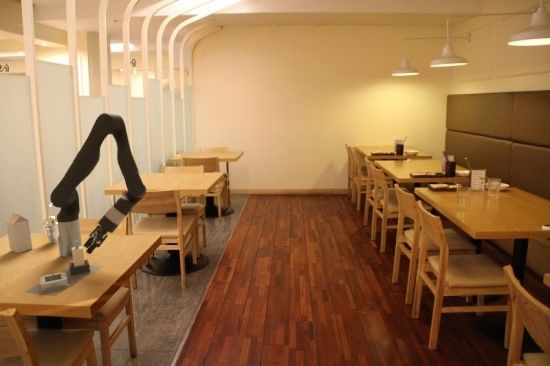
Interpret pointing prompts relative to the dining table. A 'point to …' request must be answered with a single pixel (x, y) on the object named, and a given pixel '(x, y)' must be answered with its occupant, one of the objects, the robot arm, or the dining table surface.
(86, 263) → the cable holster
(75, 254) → the plug
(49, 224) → the cup with straw
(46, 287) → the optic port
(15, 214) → the milk carton
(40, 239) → the dining table surface
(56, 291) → the port board
